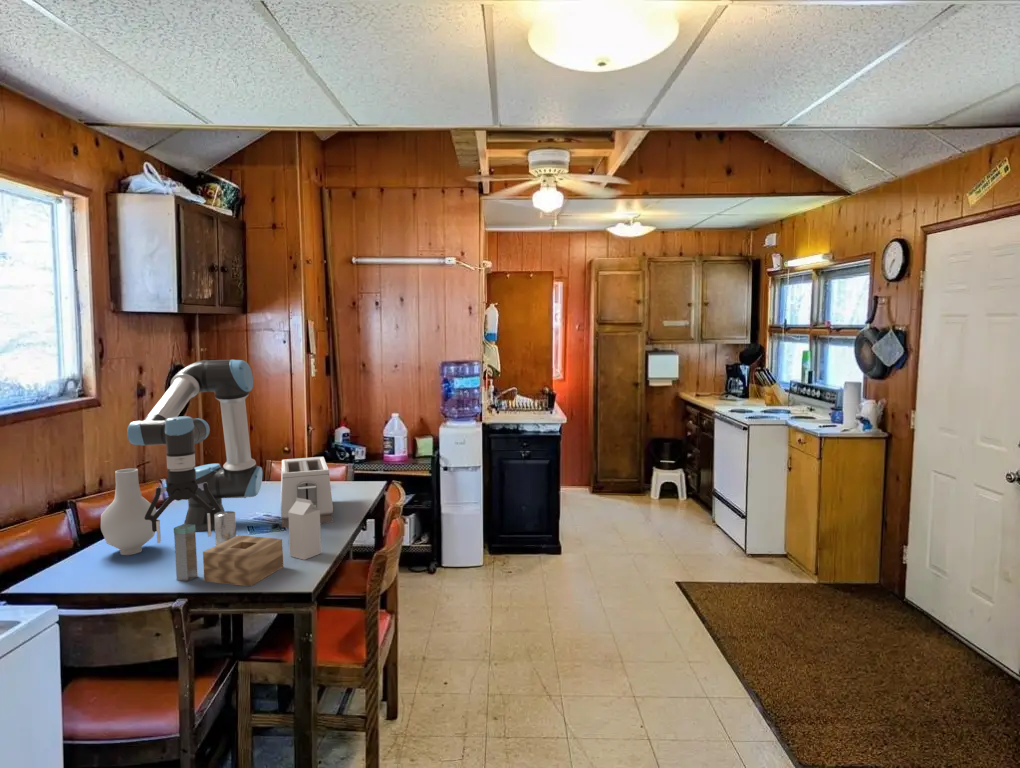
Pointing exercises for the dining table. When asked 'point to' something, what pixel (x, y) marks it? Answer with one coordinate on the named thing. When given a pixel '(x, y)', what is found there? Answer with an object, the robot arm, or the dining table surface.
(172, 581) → the dining table surface
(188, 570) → the square bit
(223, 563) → the socket block
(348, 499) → the dining table surface
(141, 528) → the vase
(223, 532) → the round bit
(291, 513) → the milk carton
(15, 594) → the dining table surface
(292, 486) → the toaster
